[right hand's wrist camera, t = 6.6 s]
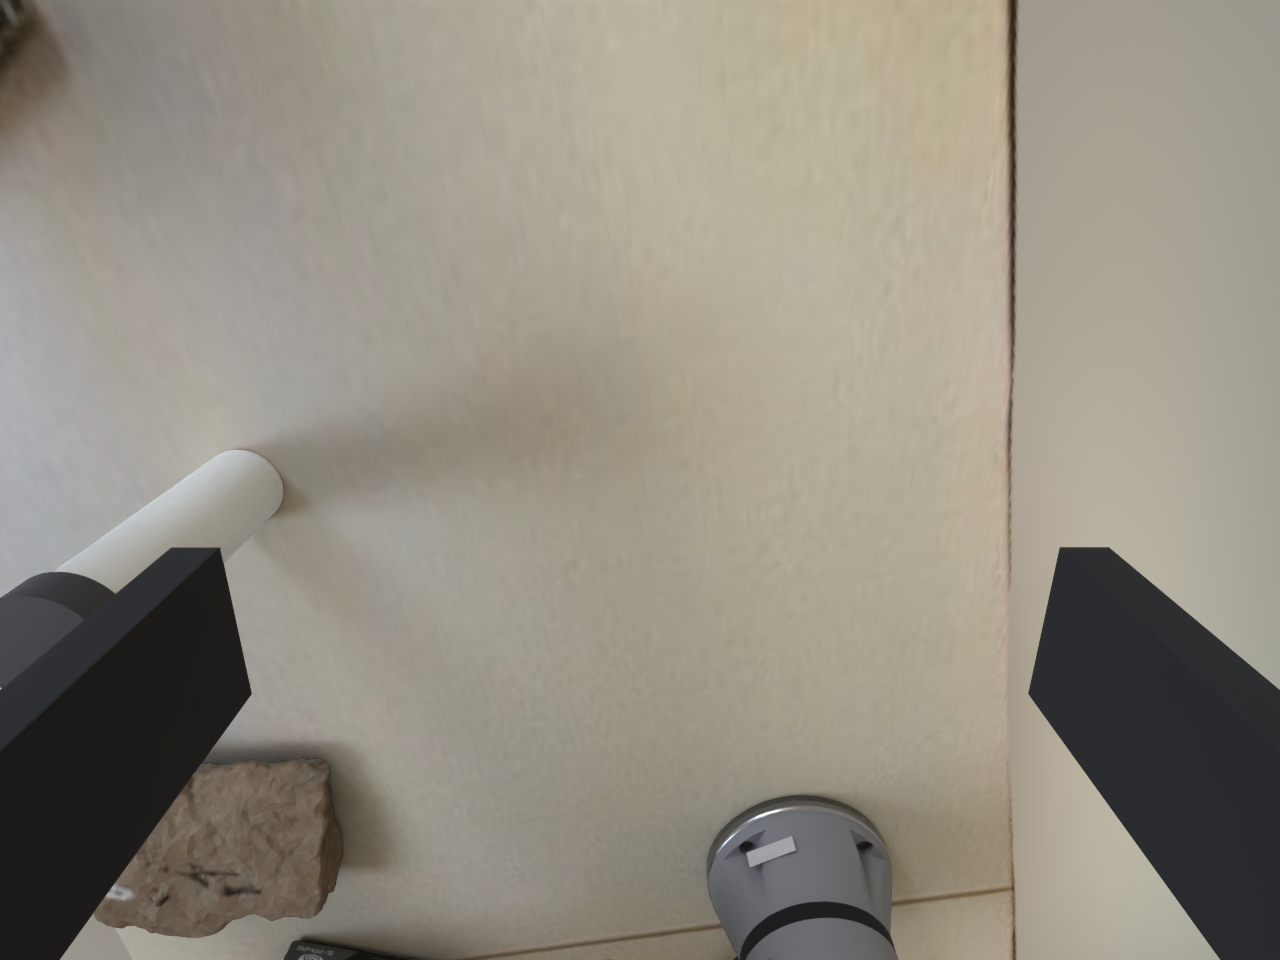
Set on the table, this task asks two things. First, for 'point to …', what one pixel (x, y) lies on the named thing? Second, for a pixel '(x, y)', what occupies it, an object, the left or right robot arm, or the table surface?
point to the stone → (233, 851)
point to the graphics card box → (328, 953)
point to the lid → (43, 616)
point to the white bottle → (187, 519)
